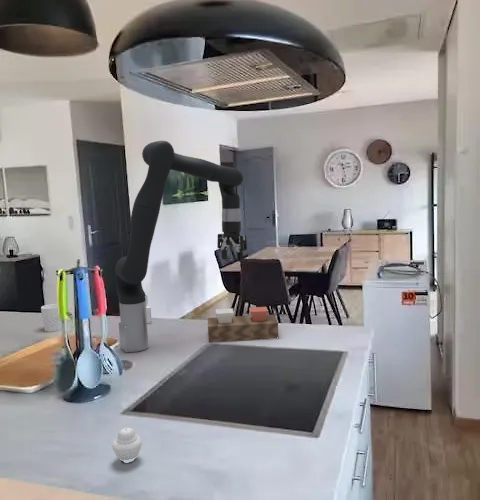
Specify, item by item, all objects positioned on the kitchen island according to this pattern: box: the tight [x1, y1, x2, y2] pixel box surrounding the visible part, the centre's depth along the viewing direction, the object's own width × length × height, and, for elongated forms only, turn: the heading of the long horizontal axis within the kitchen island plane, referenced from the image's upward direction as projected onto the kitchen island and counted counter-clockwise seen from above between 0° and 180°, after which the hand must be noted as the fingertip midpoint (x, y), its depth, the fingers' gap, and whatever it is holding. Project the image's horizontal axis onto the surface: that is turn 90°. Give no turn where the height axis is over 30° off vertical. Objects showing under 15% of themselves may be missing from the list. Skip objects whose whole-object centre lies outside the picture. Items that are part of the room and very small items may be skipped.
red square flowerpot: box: [248, 306, 269, 322], centre depth 182 cm, size 7×7×6 cm
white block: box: [215, 307, 235, 324], centre depth 181 cm, size 7×7×6 cm
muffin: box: [111, 427, 143, 460], centre depth 101 cm, size 6×6×7 cm
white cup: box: [40, 303, 62, 333], centre depth 198 cm, size 8×8×10 cm
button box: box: [207, 314, 279, 343], centre depth 182 cm, size 26×12×6 cm, turn 94°
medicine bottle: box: [145, 294, 153, 325], centre depth 204 cm, size 7×7×12 cm
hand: (232, 260), depth 191 cm, fingers open, 8 cm apart
